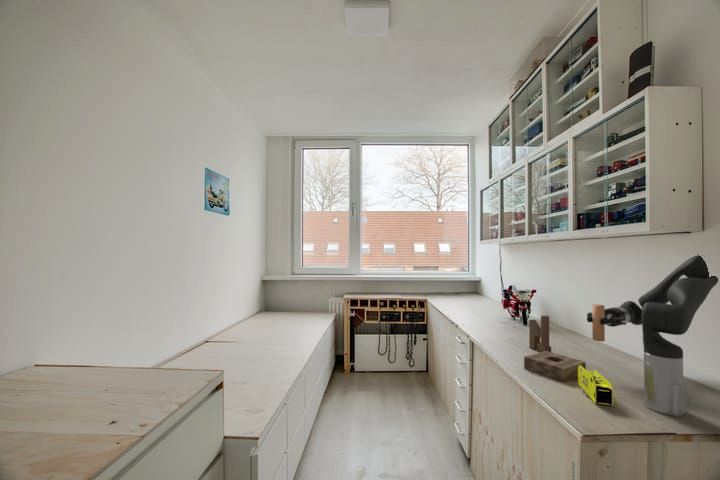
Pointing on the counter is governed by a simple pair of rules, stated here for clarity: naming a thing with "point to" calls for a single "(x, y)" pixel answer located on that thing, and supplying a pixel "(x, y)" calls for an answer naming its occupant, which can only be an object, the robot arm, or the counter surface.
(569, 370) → the socket block
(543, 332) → the wooden block
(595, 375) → the yellow toy chassis
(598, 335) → the pin
